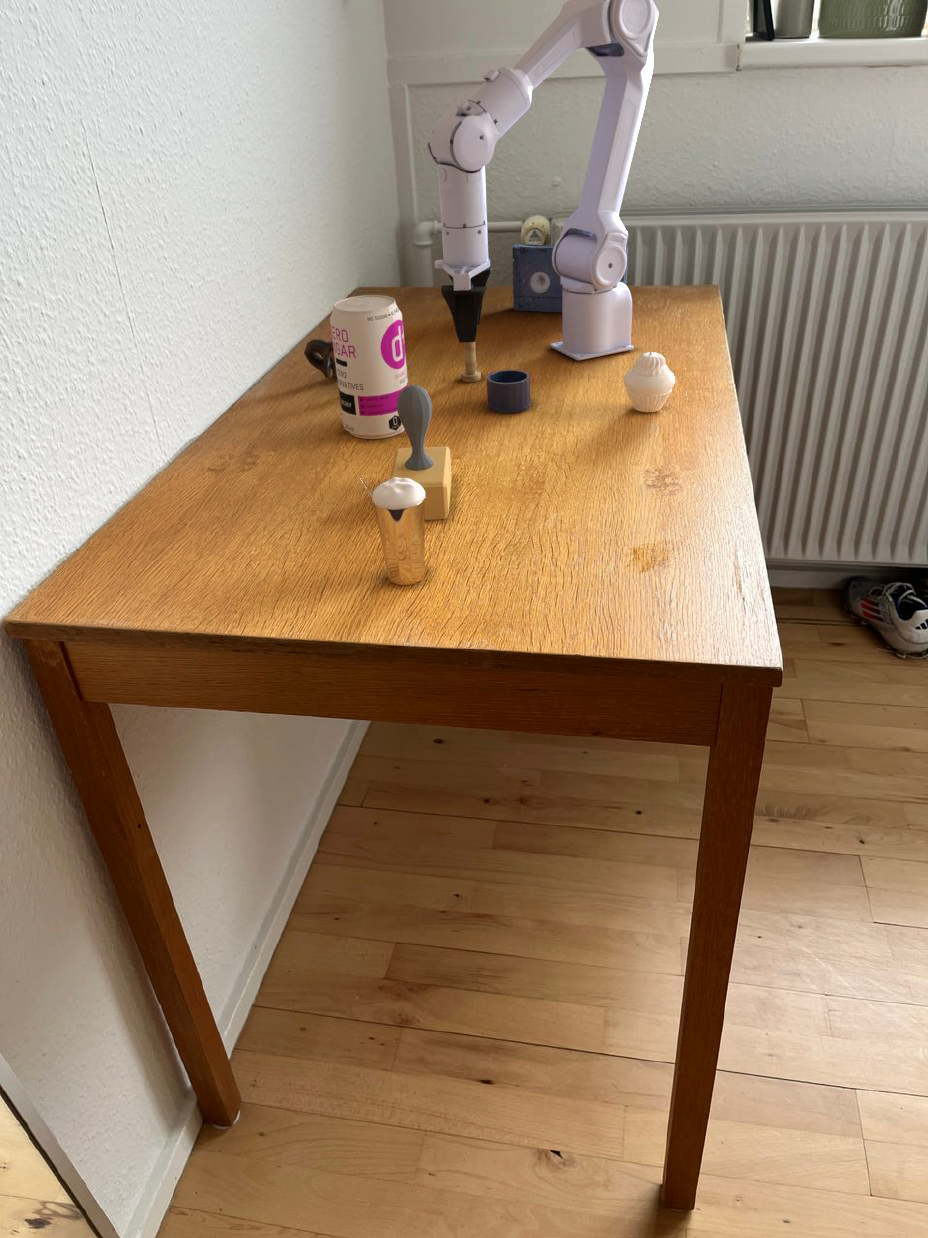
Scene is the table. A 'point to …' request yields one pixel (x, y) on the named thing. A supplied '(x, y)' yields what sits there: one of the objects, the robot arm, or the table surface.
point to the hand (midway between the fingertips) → (469, 332)
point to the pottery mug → (326, 353)
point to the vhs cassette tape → (538, 279)
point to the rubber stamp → (423, 453)
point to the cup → (508, 391)
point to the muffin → (649, 382)
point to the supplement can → (369, 364)
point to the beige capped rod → (470, 363)
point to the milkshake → (401, 528)
